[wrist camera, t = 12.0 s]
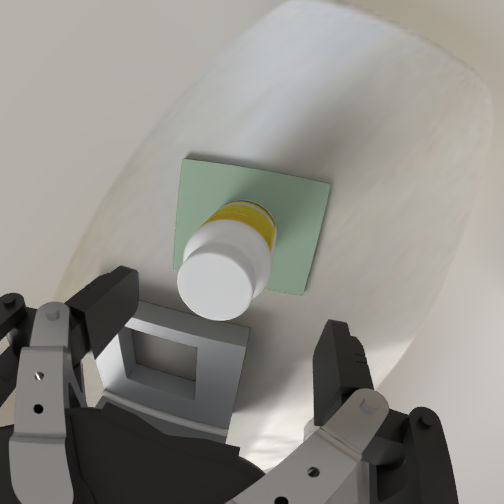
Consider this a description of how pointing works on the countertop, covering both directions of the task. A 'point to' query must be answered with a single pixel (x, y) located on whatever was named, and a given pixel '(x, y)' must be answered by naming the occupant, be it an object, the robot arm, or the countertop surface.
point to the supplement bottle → (228, 260)
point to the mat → (266, 194)
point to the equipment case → (173, 387)
